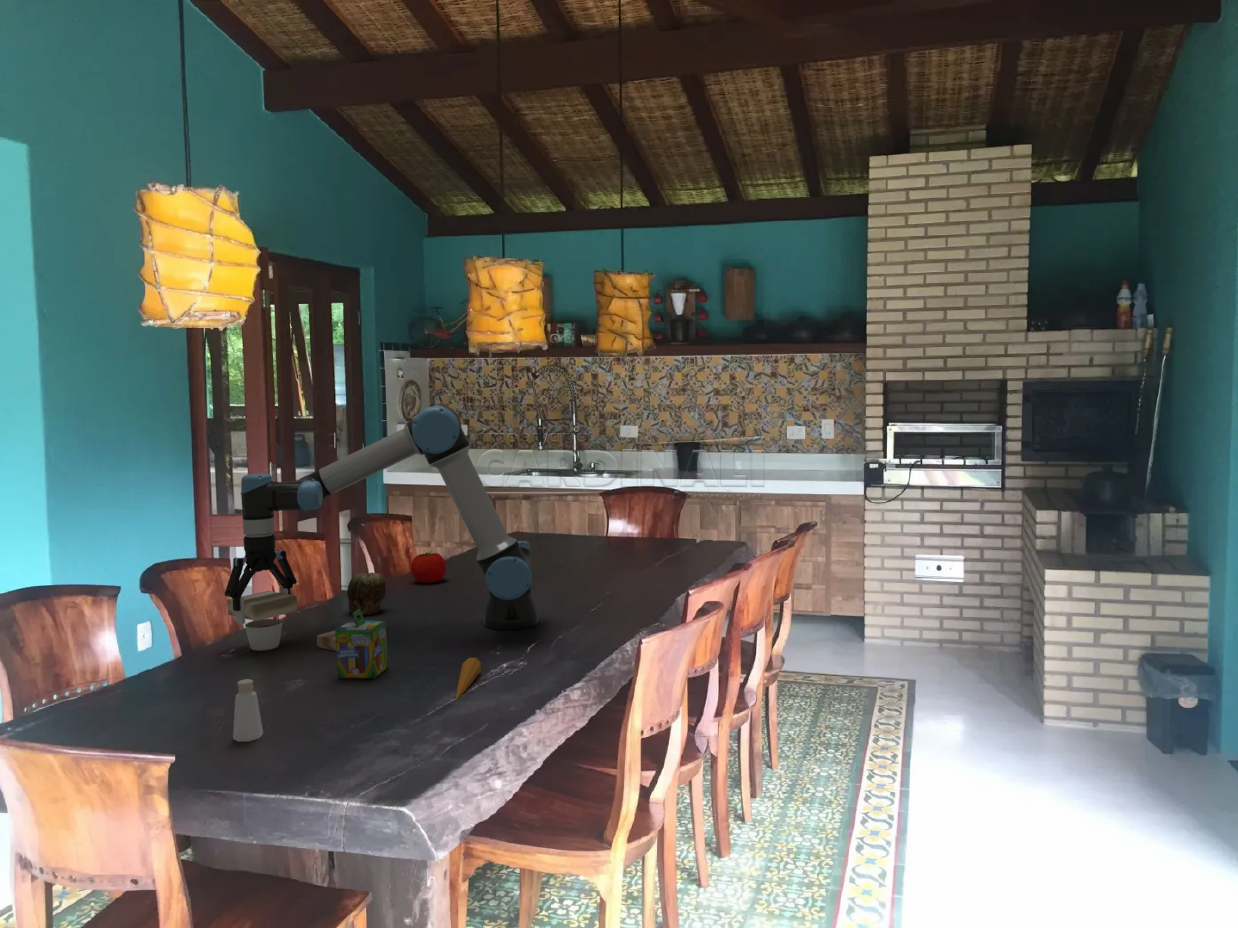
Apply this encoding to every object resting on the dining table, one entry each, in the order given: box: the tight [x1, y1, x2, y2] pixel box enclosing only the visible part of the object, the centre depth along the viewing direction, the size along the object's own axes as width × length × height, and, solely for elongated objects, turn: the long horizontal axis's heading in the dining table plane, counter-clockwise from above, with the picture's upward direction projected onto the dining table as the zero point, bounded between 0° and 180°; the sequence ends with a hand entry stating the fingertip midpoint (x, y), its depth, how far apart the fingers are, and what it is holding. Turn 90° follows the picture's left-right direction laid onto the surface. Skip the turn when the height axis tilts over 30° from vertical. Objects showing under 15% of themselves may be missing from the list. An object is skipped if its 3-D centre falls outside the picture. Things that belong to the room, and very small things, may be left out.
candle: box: [244, 618, 283, 652], centre depth 249 cm, size 9×9×6 cm
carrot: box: [455, 657, 482, 701], centre depth 213 cm, size 20×4×4 cm, turn 178°
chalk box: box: [334, 609, 389, 680], centre depth 224 cm, size 9×9×15 cm
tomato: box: [410, 551, 447, 584], centre depth 326 cm, size 12×12×10 cm
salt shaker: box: [232, 678, 264, 743], centre depth 185 cm, size 5×5×11 cm
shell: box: [346, 572, 387, 617], centre depth 284 cm, size 11×11×12 cm
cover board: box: [227, 590, 298, 621], centre depth 248 cm, size 12×12×4 cm
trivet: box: [316, 630, 336, 652], centre depth 249 cm, size 9×9×3 cm
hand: (263, 617), depth 248 cm, fingers closed on cover board, 12 cm apart
